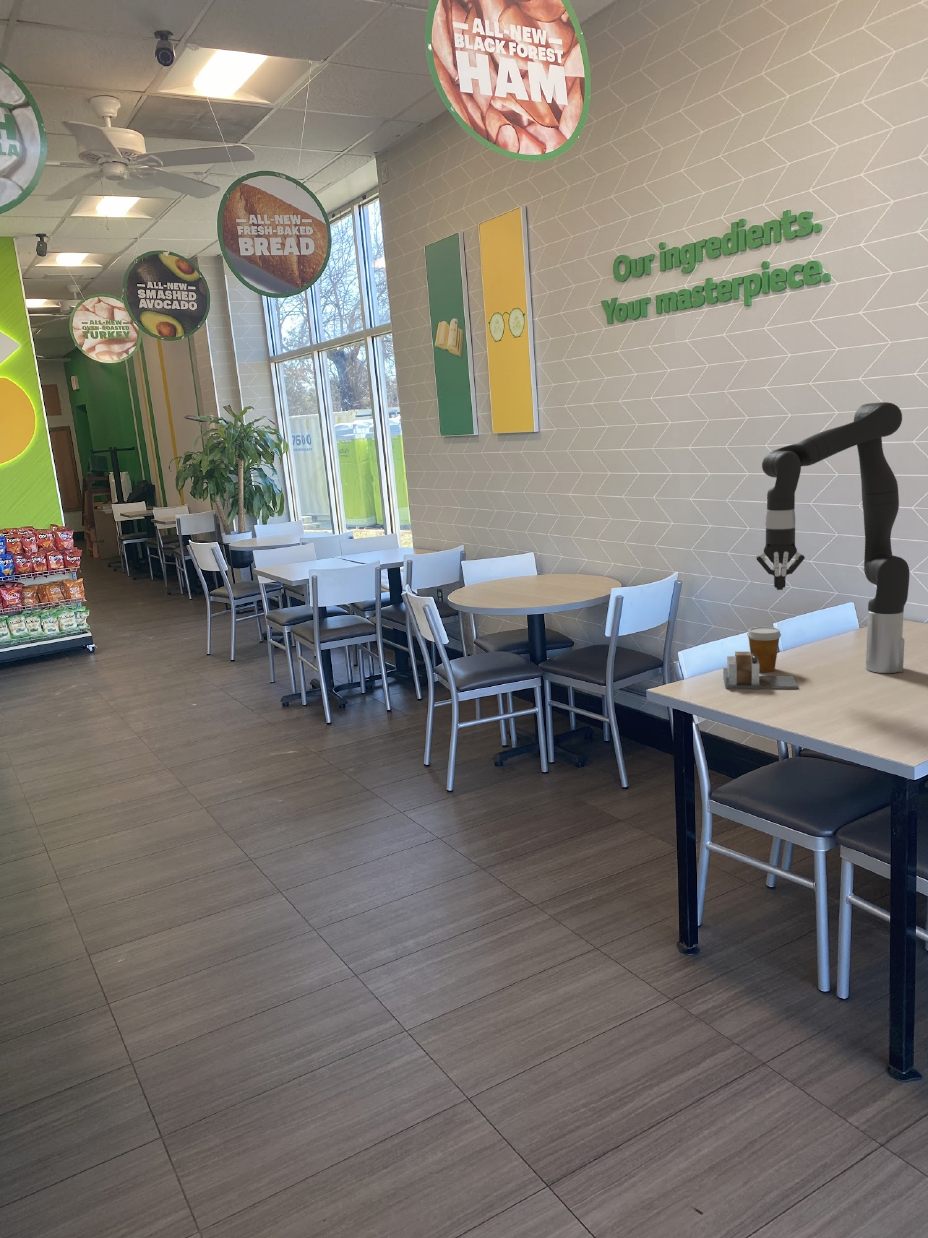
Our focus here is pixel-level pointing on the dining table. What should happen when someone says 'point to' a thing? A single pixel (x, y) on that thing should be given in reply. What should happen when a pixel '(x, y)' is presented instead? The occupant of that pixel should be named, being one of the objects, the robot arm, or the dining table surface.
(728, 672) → the vise bed
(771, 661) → the disposable coffee cup
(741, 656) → the walnut block
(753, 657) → the block
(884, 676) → the dining table surface
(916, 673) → the dining table surface
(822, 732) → the dining table surface
